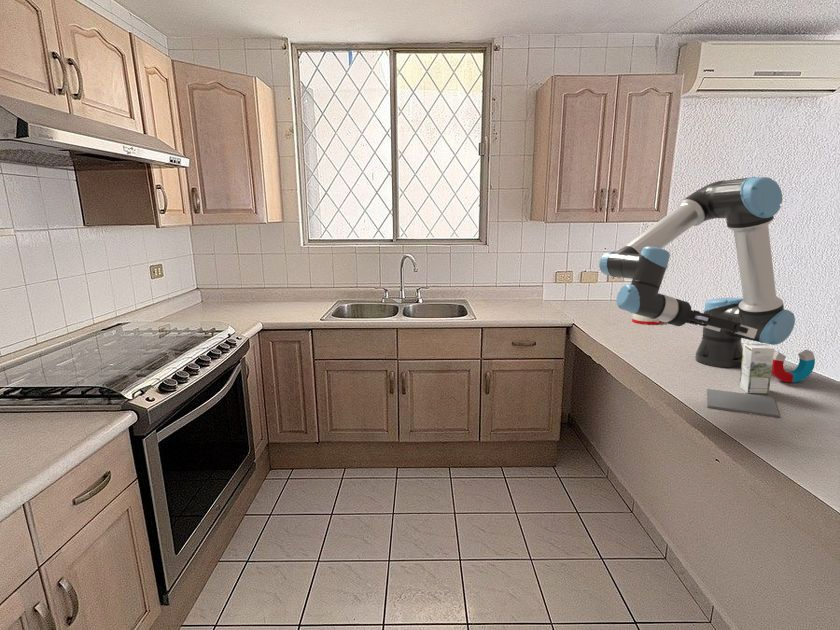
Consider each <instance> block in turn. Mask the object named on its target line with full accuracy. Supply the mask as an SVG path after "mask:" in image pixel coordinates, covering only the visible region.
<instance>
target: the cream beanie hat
mask: <svg viewBox="0 0 840 630" xmlns="http://www.w3.org/2000/svg"><path fill="white" fill-rule="evenodd" d="M655 321H656V319H651V318H648V317H644V316H641V315H637V314H634V313H632V317H631V322H633V323H634V324H638V325H646V326H649V325H650V326H655V325H661V324H663V323H664V322H662V321H659V322H658V323H657V322H655Z"/></svg>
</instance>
